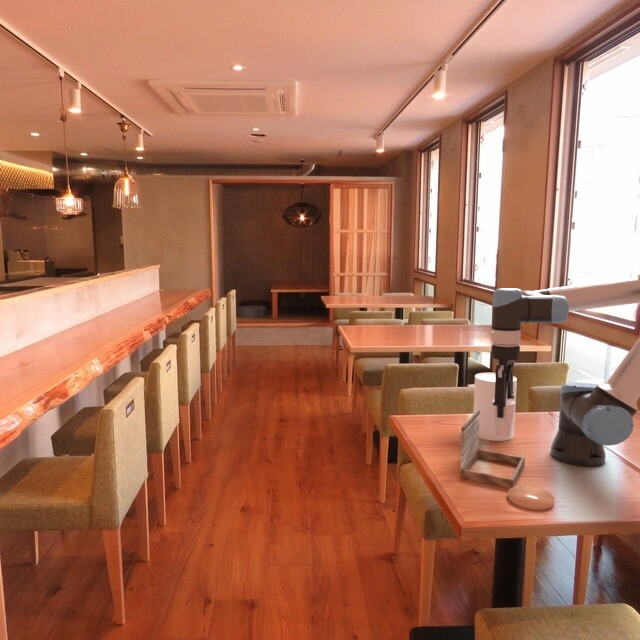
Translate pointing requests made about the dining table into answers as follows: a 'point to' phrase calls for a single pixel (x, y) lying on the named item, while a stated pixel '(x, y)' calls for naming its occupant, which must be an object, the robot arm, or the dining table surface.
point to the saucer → (530, 498)
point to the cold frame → (484, 457)
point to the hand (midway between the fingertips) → (503, 424)
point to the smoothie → (509, 416)
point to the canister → (489, 406)
